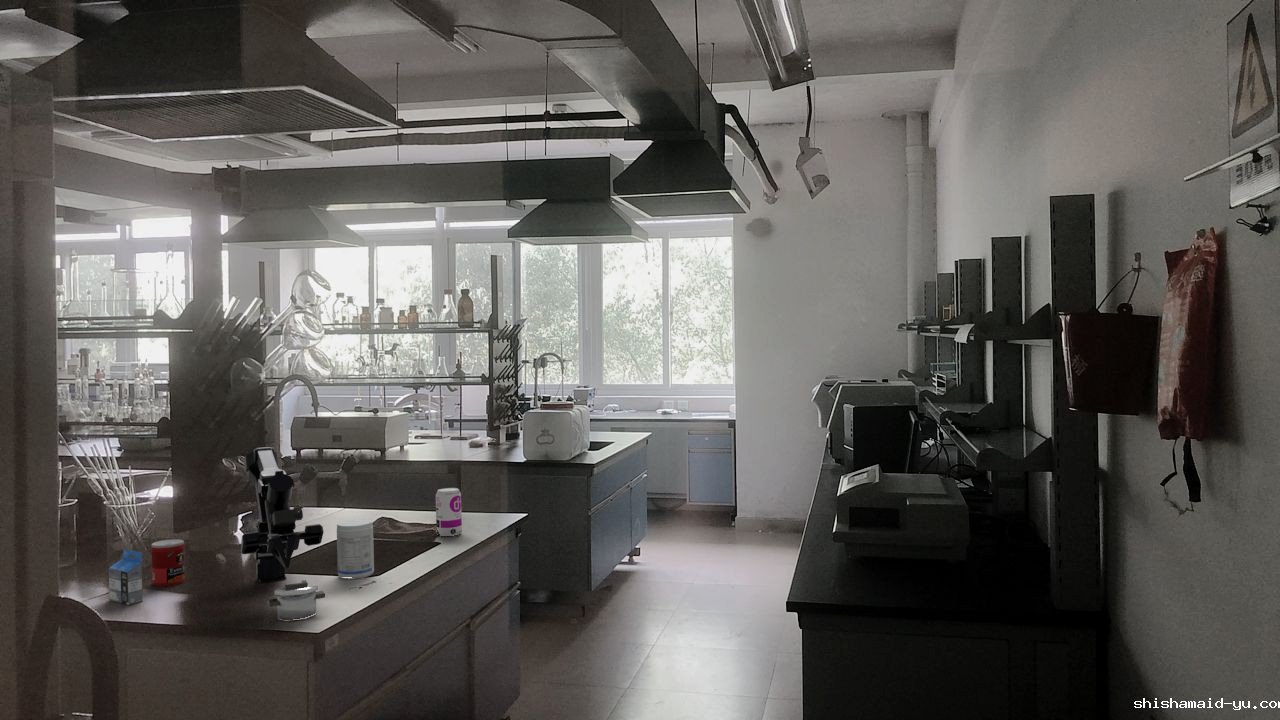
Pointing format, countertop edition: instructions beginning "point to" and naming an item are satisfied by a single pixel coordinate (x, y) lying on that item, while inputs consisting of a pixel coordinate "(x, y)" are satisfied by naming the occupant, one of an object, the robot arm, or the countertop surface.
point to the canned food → (168, 562)
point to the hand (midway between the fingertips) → (287, 567)
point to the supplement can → (448, 511)
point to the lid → (296, 589)
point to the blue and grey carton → (126, 579)
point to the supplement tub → (355, 548)
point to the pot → (296, 605)
